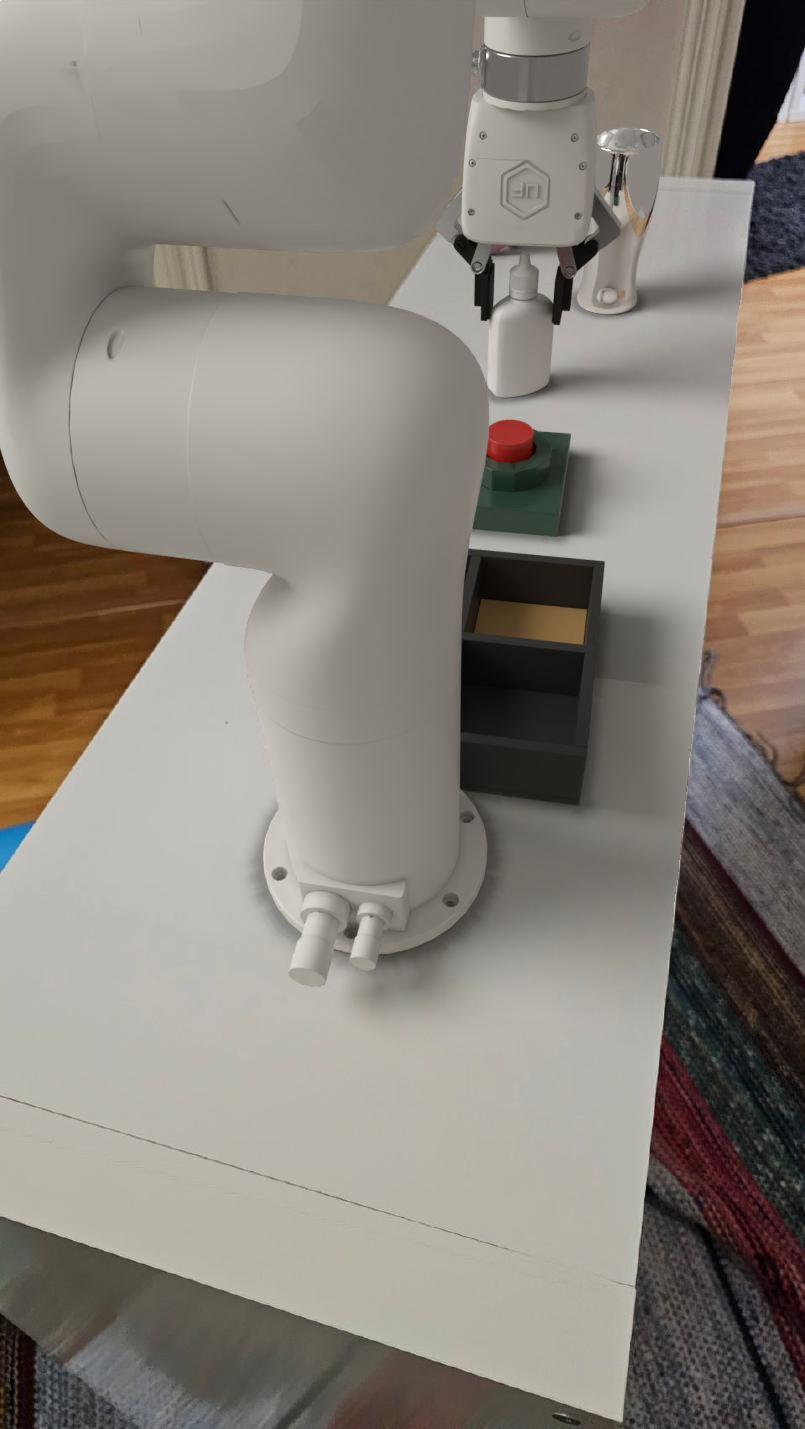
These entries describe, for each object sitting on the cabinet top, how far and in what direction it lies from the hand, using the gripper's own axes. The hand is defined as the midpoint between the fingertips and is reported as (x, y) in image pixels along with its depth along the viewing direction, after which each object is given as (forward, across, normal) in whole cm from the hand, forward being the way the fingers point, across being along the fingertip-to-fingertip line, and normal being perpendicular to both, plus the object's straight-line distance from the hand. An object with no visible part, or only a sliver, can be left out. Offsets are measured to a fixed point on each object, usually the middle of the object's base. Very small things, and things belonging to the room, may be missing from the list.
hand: (522, 313), depth 83 cm
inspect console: (+7, +1, -16) cm, 17 cm away
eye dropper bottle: (+7, 0, 0) cm, 7 cm away
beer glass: (+7, +7, +18) cm, 21 cm away
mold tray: (+7, 0, -38) cm, 39 cm away
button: (+3, +1, -16) cm, 16 cm away
